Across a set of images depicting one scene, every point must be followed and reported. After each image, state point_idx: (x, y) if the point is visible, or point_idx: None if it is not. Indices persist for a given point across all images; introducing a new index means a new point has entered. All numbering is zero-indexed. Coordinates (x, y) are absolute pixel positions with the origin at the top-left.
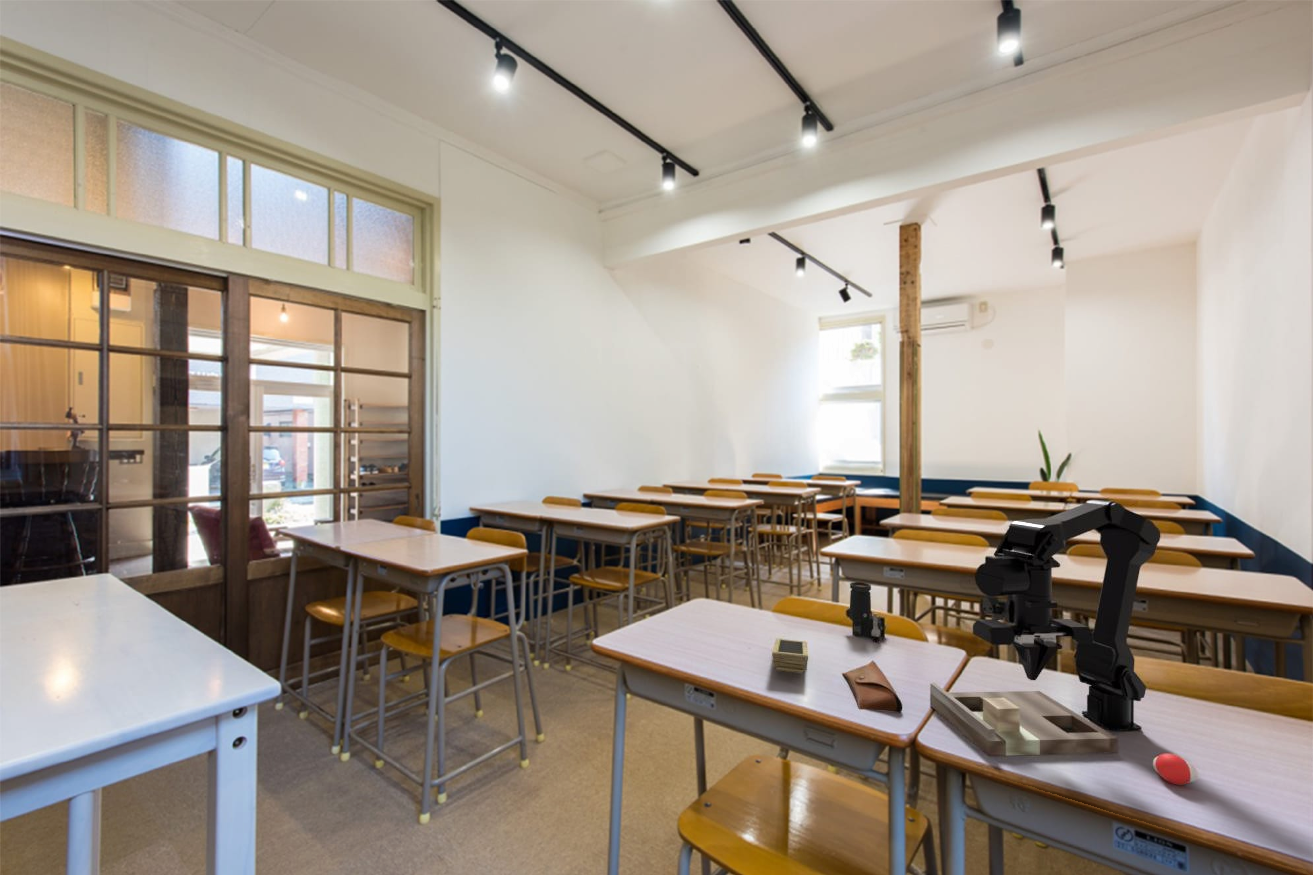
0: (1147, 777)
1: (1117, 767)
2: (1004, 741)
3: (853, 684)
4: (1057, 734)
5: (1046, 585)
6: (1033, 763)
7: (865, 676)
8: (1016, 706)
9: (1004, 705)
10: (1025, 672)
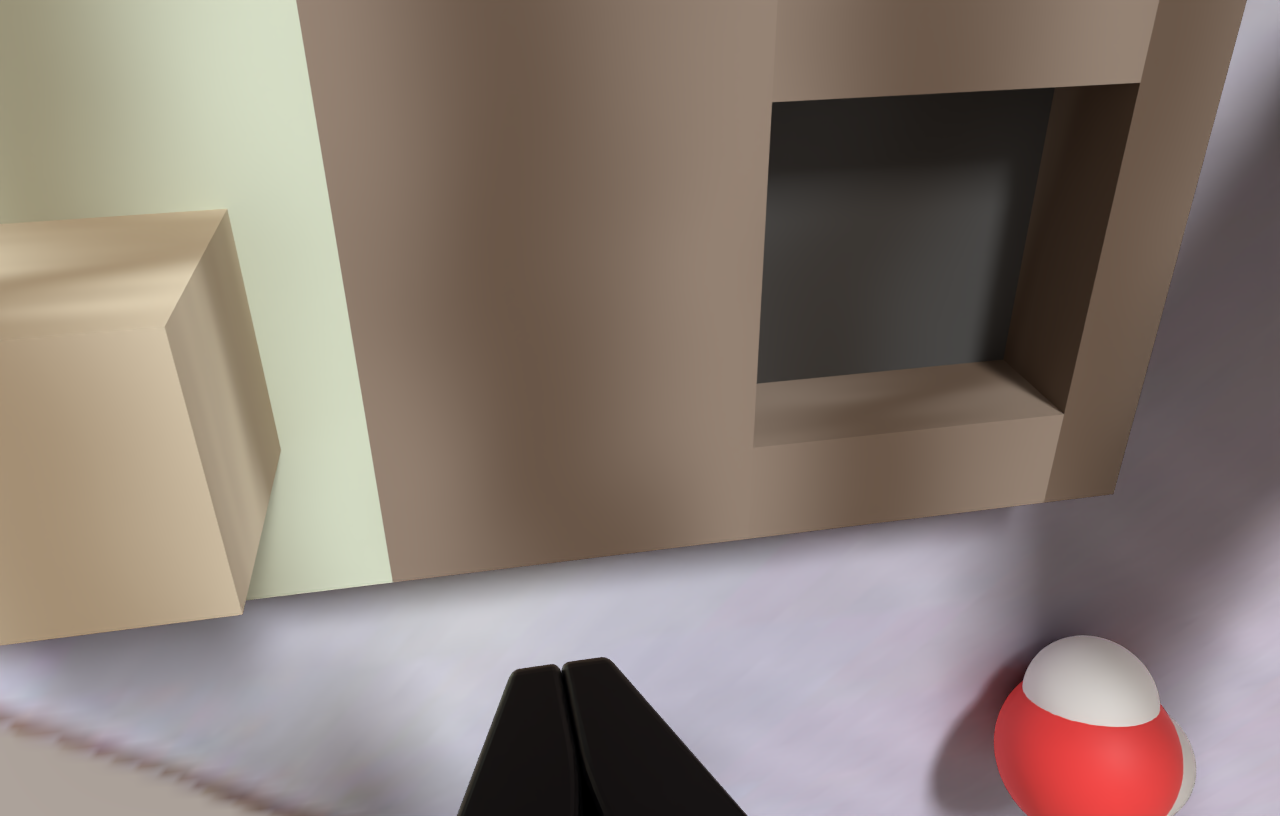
0: (940, 669)
1: (860, 595)
2: None
3: None
4: (641, 475)
5: None
6: (264, 613)
7: None
8: (224, 568)
9: (46, 561)
10: (484, 747)
